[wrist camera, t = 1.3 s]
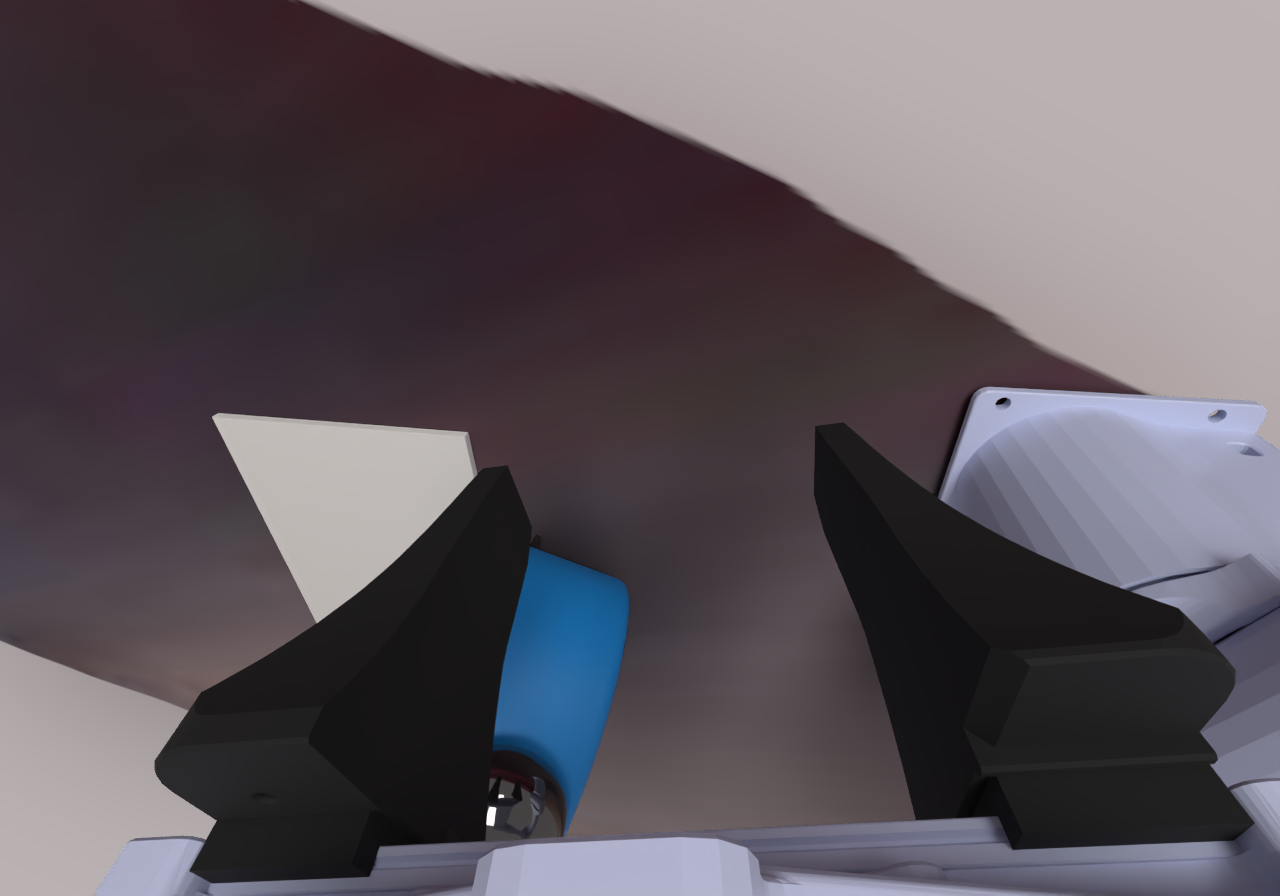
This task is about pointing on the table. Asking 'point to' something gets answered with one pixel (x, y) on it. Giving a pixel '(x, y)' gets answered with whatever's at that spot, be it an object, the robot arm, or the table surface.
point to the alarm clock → (554, 695)
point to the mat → (345, 494)
